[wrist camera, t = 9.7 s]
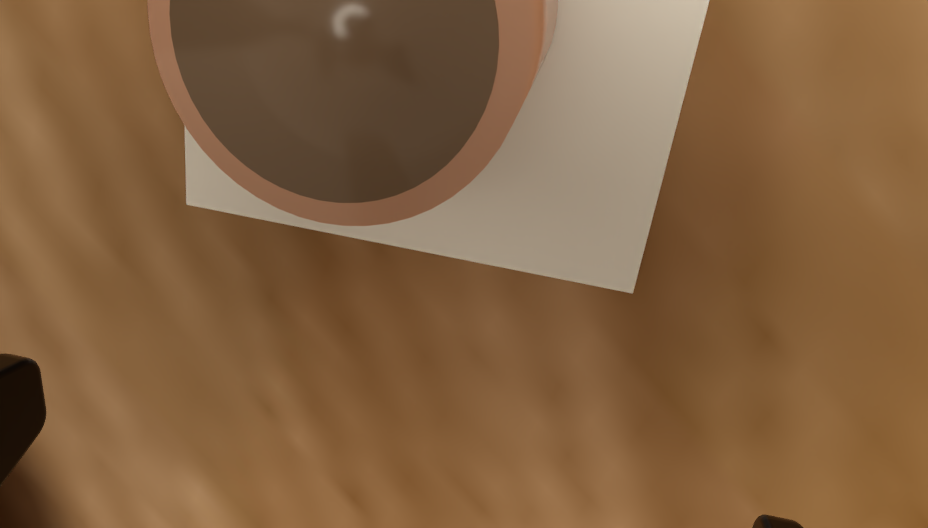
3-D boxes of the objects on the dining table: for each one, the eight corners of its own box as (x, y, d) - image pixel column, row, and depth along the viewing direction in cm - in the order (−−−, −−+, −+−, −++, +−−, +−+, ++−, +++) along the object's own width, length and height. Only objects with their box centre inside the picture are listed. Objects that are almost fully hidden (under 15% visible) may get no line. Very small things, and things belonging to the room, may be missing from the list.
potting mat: (194, 198, 22) (186, 204, 22) (186, -344, 17) (174, -351, 16) (632, 285, 21) (632, 293, 21) (777, -272, 15) (782, -278, 15)
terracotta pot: (296, 109, 20) (148, 193, 14) (308, -163, 17) (130, -221, 11) (532, 152, 19) (495, 261, 13) (582, -124, 17) (568, -160, 10)
